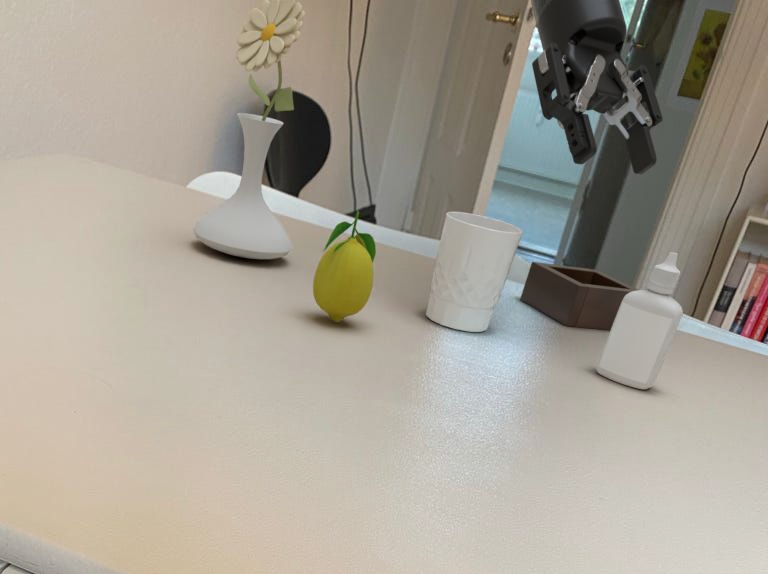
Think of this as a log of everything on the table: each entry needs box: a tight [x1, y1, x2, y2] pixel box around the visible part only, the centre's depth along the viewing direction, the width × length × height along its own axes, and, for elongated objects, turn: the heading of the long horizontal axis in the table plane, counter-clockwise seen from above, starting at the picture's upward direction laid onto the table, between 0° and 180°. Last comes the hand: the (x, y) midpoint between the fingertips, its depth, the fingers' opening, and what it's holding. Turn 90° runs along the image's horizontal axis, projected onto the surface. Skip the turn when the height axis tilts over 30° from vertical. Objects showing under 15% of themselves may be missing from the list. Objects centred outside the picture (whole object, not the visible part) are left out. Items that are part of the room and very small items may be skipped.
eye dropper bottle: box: [596, 251, 684, 390], centre depth 86 cm, size 4×6×12 cm
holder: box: [519, 261, 639, 331], centre depth 109 cm, size 10×10×4 cm
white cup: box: [425, 211, 524, 333], centre depth 94 cm, size 8×8×10 cm
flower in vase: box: [192, 0, 306, 260], centre depth 96 cm, size 13×11×25 cm
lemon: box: [312, 210, 377, 323], centre depth 84 cm, size 7×6×10 cm
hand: (617, 164), depth 86 cm, fingers open, 8 cm apart
